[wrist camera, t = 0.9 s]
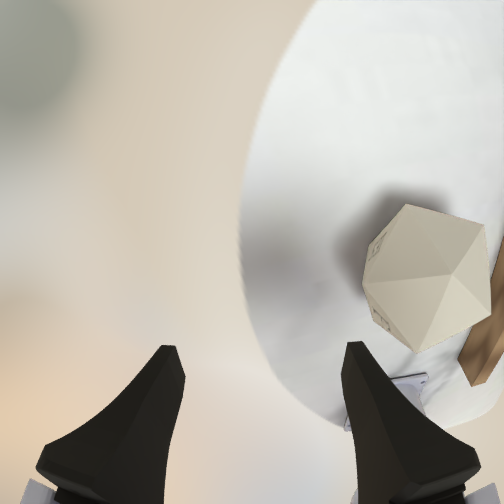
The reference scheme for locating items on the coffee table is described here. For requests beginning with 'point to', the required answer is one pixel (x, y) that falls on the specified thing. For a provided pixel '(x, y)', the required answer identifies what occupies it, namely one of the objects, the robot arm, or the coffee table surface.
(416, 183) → the coffee table surface
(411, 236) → the die
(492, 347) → the walnut board
